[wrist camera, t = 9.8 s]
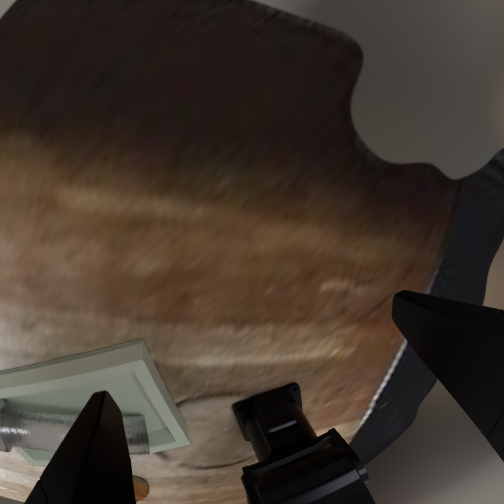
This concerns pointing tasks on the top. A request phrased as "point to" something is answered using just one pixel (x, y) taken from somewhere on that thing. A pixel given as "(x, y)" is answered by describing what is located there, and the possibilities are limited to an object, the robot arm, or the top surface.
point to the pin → (57, 430)
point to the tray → (93, 380)
